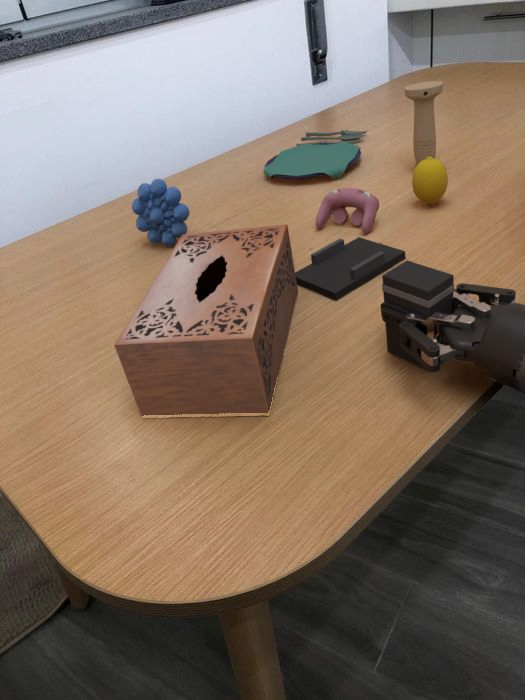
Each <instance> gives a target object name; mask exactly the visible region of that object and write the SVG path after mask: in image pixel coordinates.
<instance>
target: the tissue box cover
mask: <svg viewBox="0 0 525 700" xmlns="http://www.w3.org/2000/svg"><path fill="white" fill-rule="evenodd" d="M289 232H290V231H289V227H288V224H279V225H269V226H268V225H267V226H259V227H258V226H256V227H247V228H236V229H225V230H214V231H205V232H203V231H202V232H193V233H186V234H183V235H182V236H181V238H179V239H178V241H177V242H176V243H175V245H174V247H173V249H172V250H171V252H170V254H169V255H168V256H167V259H166V261H165V262H164V264H163V265H162V267H161V269H160V271H159V272H158V274H157V275H156V277H155V278H154V280H153V282H152V283H151V285H150V287H149V288H148V290H147V291H146V293H145V294H144V296H143V298H142V299H141V301H140V303H139V304H138V305H137V307H136V309H135V311H134V312H133V314H132V315H131V317H130V318H129V320H128V322H127V324H126V325H125V327H124V328H123V330H122V332H121V333H120V335H119V336H118V338H117V340H116V341H115V343H114V344H113V345H114V348H115V351H116V354H117V356H118V359H119V362H120V364H121V367H122V369H123V372H124V374H125V377H126V379H127V383H128V385H129V388H130V390H131V393H132V395H133V398H134V401H135V404H136V406H137V408H138V412H139V415H140V417H141V416H144V415H147V416H148V415H175V414H176V415H178V414H179V415H180V414H181V415H182V414H189V415H190V414H219V413H221V414H222V413H224V414H225V413H268V412H269V410H270V406H271V402H272V397H273V393H274V388H275V385H276V381H277V377H278V374H279V375H280V373H279V370H280V371H281V368H280V365H281V366H282V364H281V362H282V363H283V359H284V355H283V353H284V354H285V351H284V349H285V350H286V346H287V342H286V341H288V338H287V337H289V332H290V328H291V324H292V319H293V315H294V311H295V306H296V302H297V298H298V297H297V296H298V294H299V289H298V288H299V287H298V284H297V282H296V275H295V272H296V270H295V265H294V256H293V252H292V251H293V250H292V244H291V239H290V233H289ZM285 345H286V346H285ZM282 358H283V359H282ZM278 378H279V377H278ZM277 382H278V381H277Z"/></svg>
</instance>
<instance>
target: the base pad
mask: <svg viewBox="0 0 525 700" xmlns="http://www.w3.org/2000/svg"><path fill="white" fill-rule="evenodd" d="M310 259H311V263H310V264H308V265H306V266H304V267H302V268H300V269H298V270H297V271H295V275H296V282H297V286H300V287H303V288H304V289H307V290H310V291H312V292H314V293H316V294H318V295H322V296H324V297H326V298H328V299H331V300H333V301H338V300H339V299H341V298H343V297H345V296H346V295H348V294H350V293H351V292H353V291H354V290H356V289H358V288H360V287H362V285H364V284H366V283H368V282H370V281H371V280H373V279H375V278H376V277H377V276H379V275H381V274H382V273H384V272H386V271H387V270H389V269H391V268H393V267H394V266H395V265H397V264H399V263H401V262H402V261H404V260H405V259H406V250H403V249H400V248H396V247H393V246H390V245H386V244H383V243H380V242H376V241H374V240H370V239H368V238H367V239H366V238H363V237H360V236H359V237H356V238H355V239H353V240H351V241H349V242H347V243H345V239H343V238H338V239H336V240H335V241H332V242H331V243H329V244H328V245H326V246H323V247H322V248H319V250H317V251H315V252H313V253H310Z"/></svg>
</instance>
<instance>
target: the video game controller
mask: <svg viewBox="0 0 525 700" xmlns="http://www.w3.org/2000/svg"><path fill="white" fill-rule="evenodd" d="M347 208H354V209H355V210H353V212H352V213H351V215H350V223H352V224H353V225H354V226H357V227H359V226H361V232H362V234H363V235H368V234H369V233H370V232H371V230H372V229H373V227H374V225H375V221H376V217H377V212H378V211H379V208H380V200H379V198H378V197H377V196H376V195H374V194H372V193H370V192H368V191H366V190H363V189H359V188H355V187H343V188H339V189H334V190H329V191H328V192H327V194H326V195H324V197H323V199H322V201H321V203H320V207H319V209H318V212H317V214H316V216H315V222H314V223H315V228H316V229H317V230H319V231H320V230H322V229H323V228H325V226H326V225H327V223H328V221H329V220H330V218H331V216H332V218H333V220H334V221H333V222H335V223H336V224H340V225H343V224H346V223H347V222H348V221H349V212H348V211H347Z"/></svg>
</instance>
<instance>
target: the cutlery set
mask: <svg viewBox="0 0 525 700" xmlns="http://www.w3.org/2000/svg"><path fill="white" fill-rule="evenodd" d="M367 132H368V130H362V131H360V130H348V129H345V130H344V129H341V130H340V131H334V132H311V131H310V132H309V131H308V132H305V136H302V137H301V138H300V141H301V142H306V141H318V140H320V141H318V142H309V143H296V144H295V145H296V146H293V147H289V148H287V149H283V150H281V151H279V152H278V154H276V155H274V156H273V157H271V158H270V159H268V160H267V161H266V163H265V165H264V168H263V171H262V172H263V174H264V175H265V176H266V177H268V178H269V179H271V180H272V179H273V178H279V179H283V180H305V179H306V180H307V179H314V178H319V177H324V176H330V177H331V178H332V179H334V180H338V179H339V178H341V176H342V175H343V174H344V173H345V171H346V169H347V168H349V167H351V166H353V165H354V164H355V163H356V162H357V161H358V160H360V158H361V155H362V151H361V149H362V148H361V147H360V146H359V145H357V144H359V143H360V140H359V139H361V138H363V136H364V135H366V133H367ZM337 135H340V136H337ZM333 136H337V137H333ZM322 140H325V141H322ZM328 140H337V141H328ZM338 140H340V141H338ZM355 144H356V145H355Z"/></svg>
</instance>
